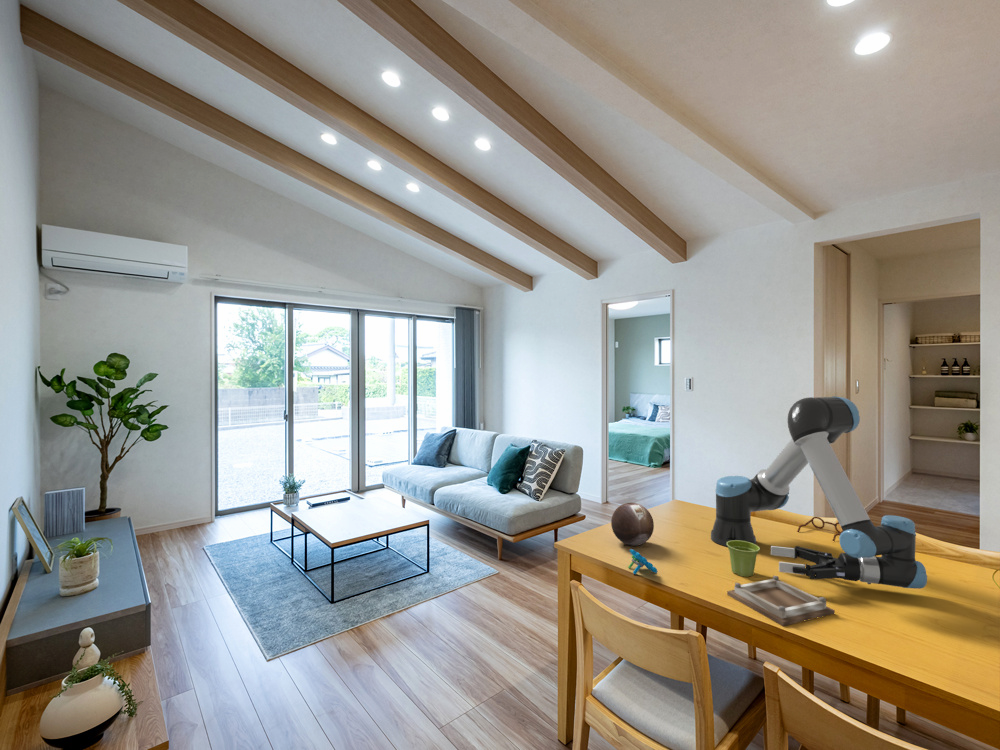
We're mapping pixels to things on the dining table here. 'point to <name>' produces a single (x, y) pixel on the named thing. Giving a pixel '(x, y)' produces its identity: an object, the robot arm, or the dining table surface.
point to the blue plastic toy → (640, 562)
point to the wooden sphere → (632, 524)
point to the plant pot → (742, 557)
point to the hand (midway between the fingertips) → (774, 558)
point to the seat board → (780, 601)
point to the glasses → (822, 526)
